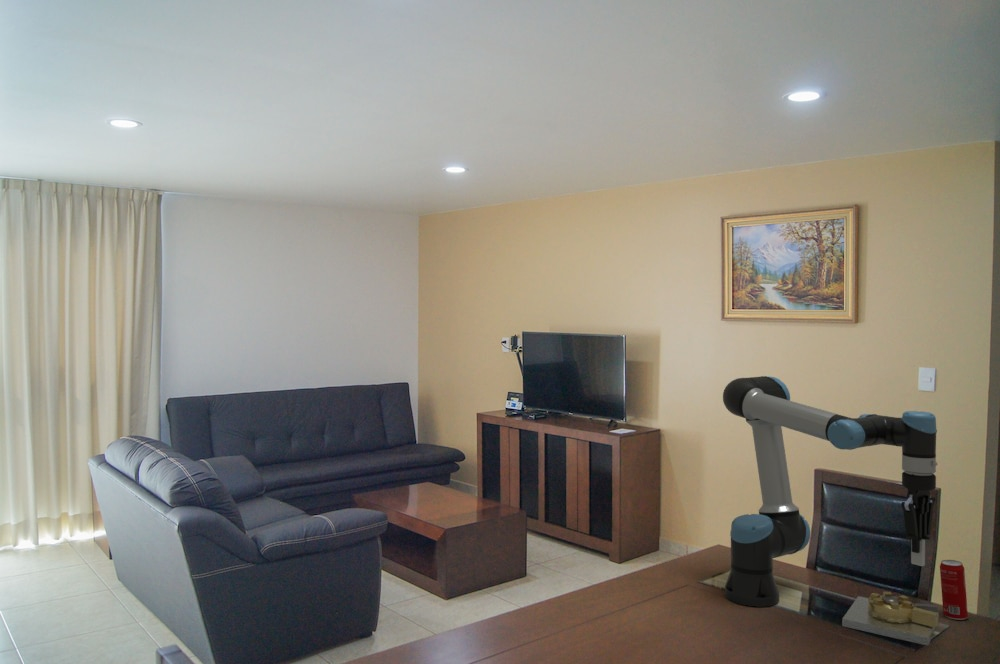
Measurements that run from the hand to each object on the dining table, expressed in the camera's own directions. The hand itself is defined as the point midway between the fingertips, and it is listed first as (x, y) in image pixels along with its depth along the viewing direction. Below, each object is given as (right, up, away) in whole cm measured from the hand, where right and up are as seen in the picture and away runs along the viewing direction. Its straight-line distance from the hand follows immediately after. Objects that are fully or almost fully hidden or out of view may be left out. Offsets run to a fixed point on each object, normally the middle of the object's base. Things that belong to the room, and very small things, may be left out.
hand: (918, 564), depth 187 cm
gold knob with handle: (0, -17, +8) cm, 18 cm away
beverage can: (+18, -19, +14) cm, 29 cm away
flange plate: (-2, -19, +10) cm, 21 cm away
